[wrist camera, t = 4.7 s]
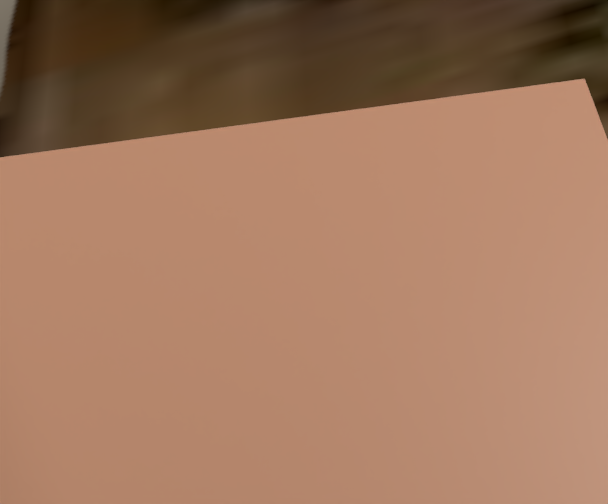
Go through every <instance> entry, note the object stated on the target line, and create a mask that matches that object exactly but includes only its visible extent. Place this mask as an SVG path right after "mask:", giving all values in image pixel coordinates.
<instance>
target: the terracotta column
mask: <svg viewBox="0 0 608 504" xmlns="http://www.w3.org/2000/svg"><path fill="white" fill-rule="evenodd" d="M0 504H608V139H607V137H606V134H605V131H604V129H603V126H602V124H601V121H600V118H599V116H598V113H597V110H596V108H595V105H594V102H593V100H592V97H591V94H590V92H589V89H588V86H587V84H586V81H585V79H579V80H572V81H564V82H557V83H550V84H542V85H535V86H527V87H520V88H512V89H505V90H498V91H490V92H483V93H475V94H468V95H461V96H453V97H446V98H438V99H431V100H423V101H416V102H409V103H401V104H394V105H386V106H379V107H372V108H364V109H357V110H349V111H342V112H334V113H327V114H320V115H312V116H305V117H297V118H290V119H283V120H275V121H268V122H260V123H253V124H246V125H238V126H231V127H223V128H216V129H208V130H201V131H194V132H186V133H179V134H171V135H164V136H157V137H149V138H142V139H134V140H127V141H119V142H112V143H105V144H97V145H90V146H82V147H75V148H68V149H60V150H53V151H45V152H38V153H31V154H23V155H16V156H8V157H1V158H0Z"/></svg>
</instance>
